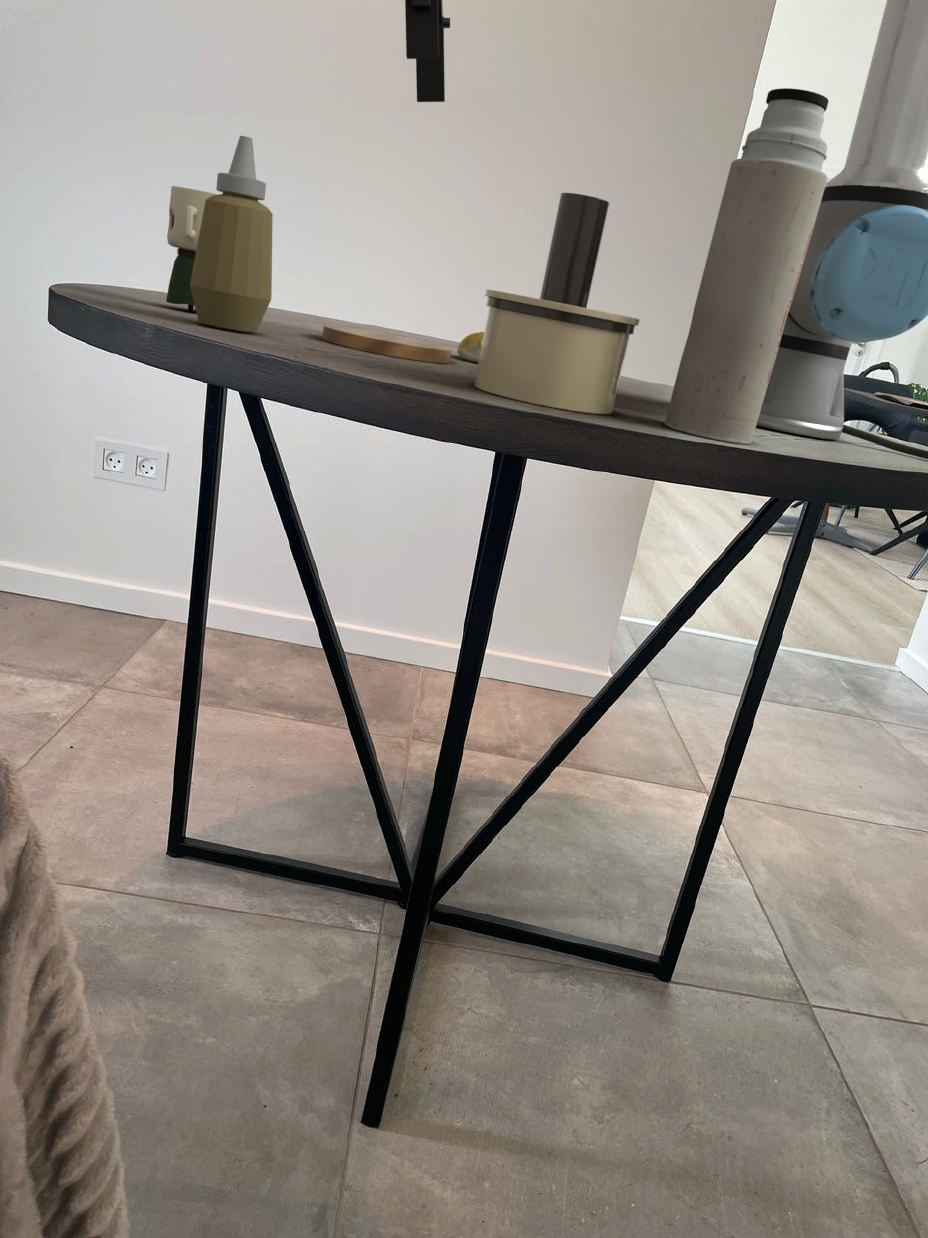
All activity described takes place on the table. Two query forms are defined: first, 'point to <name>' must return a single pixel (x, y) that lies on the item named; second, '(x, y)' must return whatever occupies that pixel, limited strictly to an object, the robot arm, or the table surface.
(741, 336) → the thermos bottle
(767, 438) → the table surface
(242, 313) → the squeeze bottle
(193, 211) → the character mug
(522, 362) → the pot
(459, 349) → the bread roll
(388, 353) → the trivet
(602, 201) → the lid
